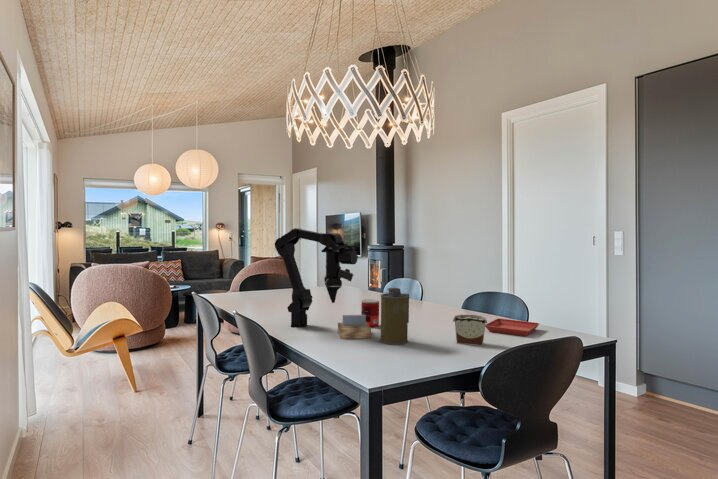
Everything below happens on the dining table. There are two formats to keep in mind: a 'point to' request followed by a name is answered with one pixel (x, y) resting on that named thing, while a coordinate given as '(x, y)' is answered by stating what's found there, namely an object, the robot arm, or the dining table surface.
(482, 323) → the food container
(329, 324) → the dining table surface
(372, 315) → the canned food
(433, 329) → the dining table surface
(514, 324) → the plant saucer
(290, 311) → the robot arm
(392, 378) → the dining table surface
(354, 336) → the rack
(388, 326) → the canister
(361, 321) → the blue-grey flat block
